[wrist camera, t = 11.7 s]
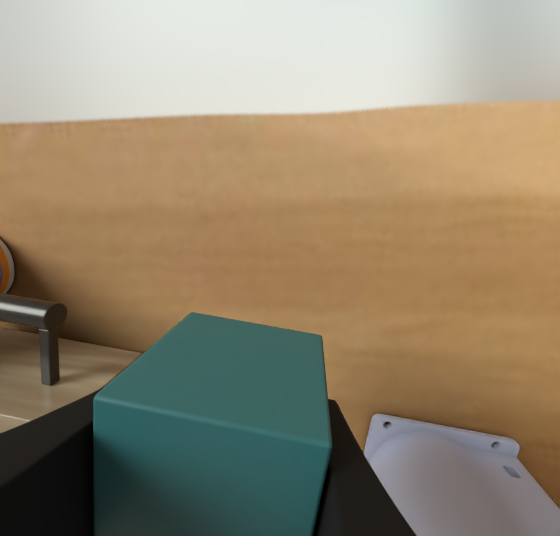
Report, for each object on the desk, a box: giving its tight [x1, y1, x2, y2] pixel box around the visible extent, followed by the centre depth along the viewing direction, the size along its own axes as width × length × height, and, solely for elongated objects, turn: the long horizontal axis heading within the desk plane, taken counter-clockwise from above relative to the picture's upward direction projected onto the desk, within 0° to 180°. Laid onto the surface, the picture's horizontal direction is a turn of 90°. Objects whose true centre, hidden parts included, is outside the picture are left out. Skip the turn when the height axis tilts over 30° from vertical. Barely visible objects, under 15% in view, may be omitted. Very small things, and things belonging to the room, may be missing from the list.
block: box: [93, 312, 332, 536], centre depth 8 cm, size 4×4×4 cm
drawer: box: [0, 293, 142, 433], centre depth 18 cm, size 18×11×7 cm, turn 172°
